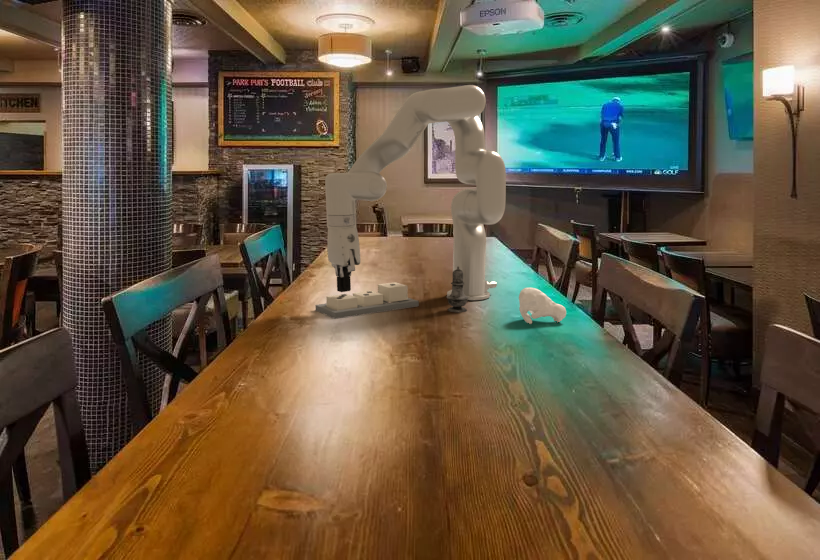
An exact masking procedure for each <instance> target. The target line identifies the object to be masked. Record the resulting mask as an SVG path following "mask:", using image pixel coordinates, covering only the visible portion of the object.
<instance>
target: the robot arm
mask: <svg viewBox="0 0 820 560" xmlns="http://www.w3.org/2000/svg"><path fill="white" fill-rule="evenodd" d="M486 101H487V99H486V95H485V92H484V91H483V90H482V89H481V88H480V87H479V86H477V85H473V84H467V85H462V86H461V85H460V86H459V85H458V86H452V87H443V88H432V89H426V90H421V91H420V90H419V91H417V92H414V93H412V94H410V95H409V96H408V97H407V98H406V100H405V101H404V102H403V104H402V105H401V107H400V108H399V109H398V111H397V112H396V114H395V115H394V117H393V118H392V120H391V121H390V123H389V124H388V126H387V127H386V128H385V130H384V131H383V132H382V133H381V135H380V136H379V137H377V139H375V140H374V141H373V142H372V143H371V144H370V145H369V146H368V147H367V148H366V149H364V151H363V152H362V153H361V154H360V155H359V156H358V158H357V159H356V160H355V161H354V163H353V165H352V166H351V168H350V169H349V170H348V172H333V173H332V172H331V173H328V174H327V175H326V176H325V179H324V184H325V185H324V186H325V187H324V188H325V203H326V204H325V208H326V227H327V241H326V244H327V246H326V247H327V248H326V249H327V260H328V262H329V263H331V266H332V268H334V272H335V276H336V290H337V292H339V293H346V292H350V291H351V290H352V287H351V286H352V285H351V277H352V273H353V272H355V271H356V266H359V265H360V264H361V248H360V247H361V246H360V239H359V232H358V229H357V212H356V211H357V210H356V209H357V206H356V205H357V204H356V201H366V202H367V201H369V202H375V201H378V200H380V199H381V198H383V197H384V196H385V194H386V192H387V190H388V184H387V180H386V178H385V177H384V176H383V175H381V174H380V173H381V172H382V171H383V170H384V169H385V168H386V167H388V166H389V165H390V164H392V163H394V162H395V161H398V160H399V159H402V158H403V157H405V156H406V155H408V154H409V153H410V152H411V151H412V149H413V147H414V146H415V144H416V143H417V141H418V140H419V139H420V136H421V135H422V134H423V132H424V131H425V130H426V128H427V126H429V124H435V123H436V124H437V123H446V122H447V123H448V125H449V126H450V127H451V129H452V131H453V132H452V133H453V136H454V145H455V147H454V155H455V156H454V158H455V160H454V161H455V163H454V164H455V165H454V166H455V169H454V171H455V177H456V179H457V180H458V181H459V182H460V183H462V184H466V185H474V186H476V188H475V189H473V188H470V189H469V188H467V189H466V188H465V189H462V190H460V191H458V192H457V193H456V194H454V196H453V198H452V199H451V203H450V215H451V221H452V230H453V243H452V244H453V246H452V247H453V248H452V251H453V252H452V272H453V271H454V270H456V269H457V267H459V269H460V270H462V271H463V282H464V283H465V284H464V285H463V292H464V295H465V296H468V299H467V301H482V300H483V301H484V300H487V299H489V298H490V296H491V295H490V294H491V293H490V292H489V291H488V290H489V289H495V288H497V286H498V285H497V282H496V281H490V282H489V281H488V280H486V255H487V253H486V249H487V234H486V230H485V229H486V228H485V225H487V226H488V225H489V226H490V225H495V224H497V223H498V222H500V220H502V218H503V217H504V213H505V210H506V202H507V201H506V197H507V196H506V194H507V193H506V192H507V191H506V190H507V189H506V188H507V187H506V186H507V184H506V181H507V173H506V172H507V171H506V165H505V161H504V159H503V158H502V156H501V155H500V154H499V153H498V152H496V151H493V150H489V149H488V150H486V135H485V129H484V126H483V123H482V121H481V119H480V117H479V115H480V114H482V113H483V111H484V110H485V107H486V103H487V102H486ZM451 293H452V289H449V290H447V293H446V295H447V296H449V295H451ZM447 296H446V297H447Z"/></svg>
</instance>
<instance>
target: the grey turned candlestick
mask: <svg viewBox="0 0 820 560" xmlns="http://www.w3.org/2000/svg"><path fill="white" fill-rule="evenodd" d="M450 284H451V290H452V293H451V295H449V296H446V299H447V303H448V305H450V307H448V308H447V311H448V312H451V313H465V312H467V311H468V309H467V308H466V307H465V305H466V304H467V303H468V300H467V299H468V296H465V295H464V292H463V285H464V284H465V283H464V282H463V271H462V270H460V269H459V267H457V269H456V270H454V271H453V270H452V282H450Z"/></svg>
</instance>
